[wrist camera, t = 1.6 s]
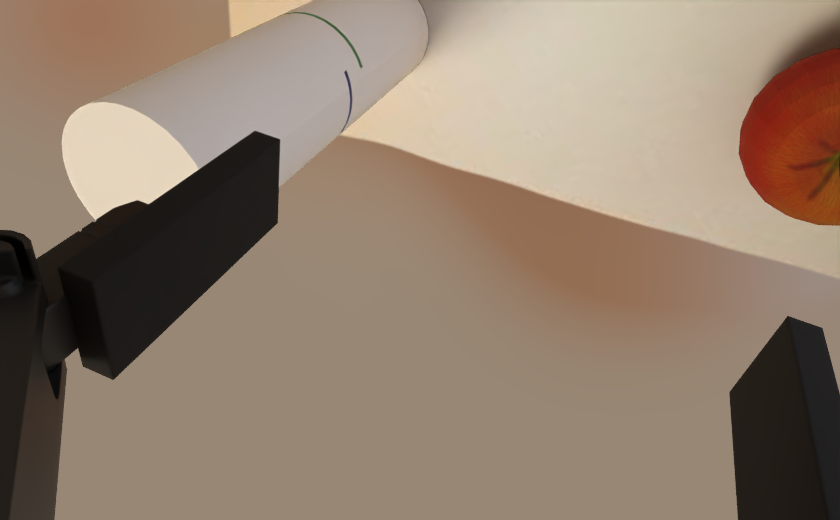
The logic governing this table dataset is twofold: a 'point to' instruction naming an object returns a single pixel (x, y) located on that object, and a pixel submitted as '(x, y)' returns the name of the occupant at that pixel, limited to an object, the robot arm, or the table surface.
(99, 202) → the cylindrical container
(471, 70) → the table surface
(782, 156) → the fruit
